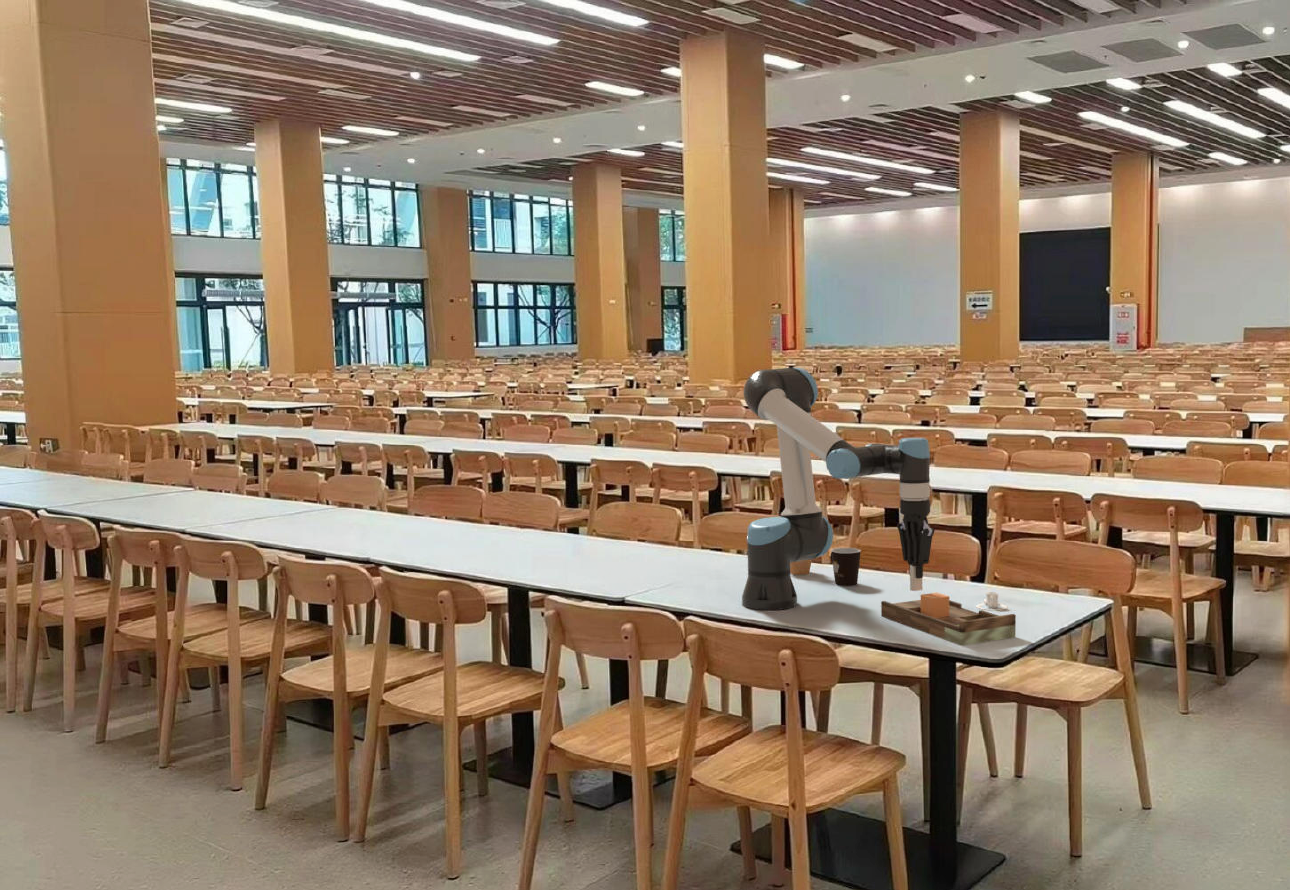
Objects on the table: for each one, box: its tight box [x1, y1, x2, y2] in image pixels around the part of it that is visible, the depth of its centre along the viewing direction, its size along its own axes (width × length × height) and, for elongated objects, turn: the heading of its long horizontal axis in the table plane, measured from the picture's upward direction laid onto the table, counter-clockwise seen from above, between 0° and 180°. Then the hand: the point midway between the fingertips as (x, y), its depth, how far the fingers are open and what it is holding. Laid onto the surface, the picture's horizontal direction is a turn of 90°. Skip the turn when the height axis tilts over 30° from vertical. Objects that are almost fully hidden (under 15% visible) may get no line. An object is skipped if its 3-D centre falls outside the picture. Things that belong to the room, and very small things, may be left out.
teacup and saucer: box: [976, 591, 1008, 611], centre depth 326 cm, size 9×8×4 cm
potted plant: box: [790, 559, 813, 576], centre depth 375 cm, size 10×10×25 cm
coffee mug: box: [829, 547, 862, 587], centre depth 360 cm, size 12×9×10 cm
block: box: [920, 592, 950, 618], centre depth 306 cm, size 5×5×5 cm
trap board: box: [880, 599, 1017, 646], centre depth 306 cm, size 16×33×6 cm, turn 24°
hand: (916, 589), depth 311 cm, fingers closed
